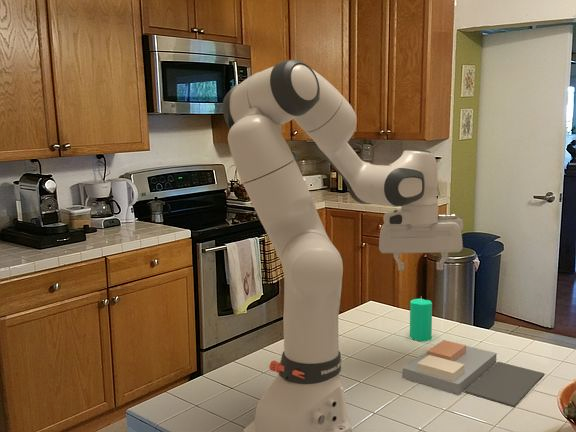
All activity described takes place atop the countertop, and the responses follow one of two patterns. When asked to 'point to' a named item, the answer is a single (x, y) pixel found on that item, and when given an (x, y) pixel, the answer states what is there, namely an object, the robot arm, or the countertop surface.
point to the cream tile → (441, 368)
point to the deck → (474, 368)
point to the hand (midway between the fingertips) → (420, 269)
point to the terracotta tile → (447, 350)
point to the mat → (505, 383)
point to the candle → (421, 319)
